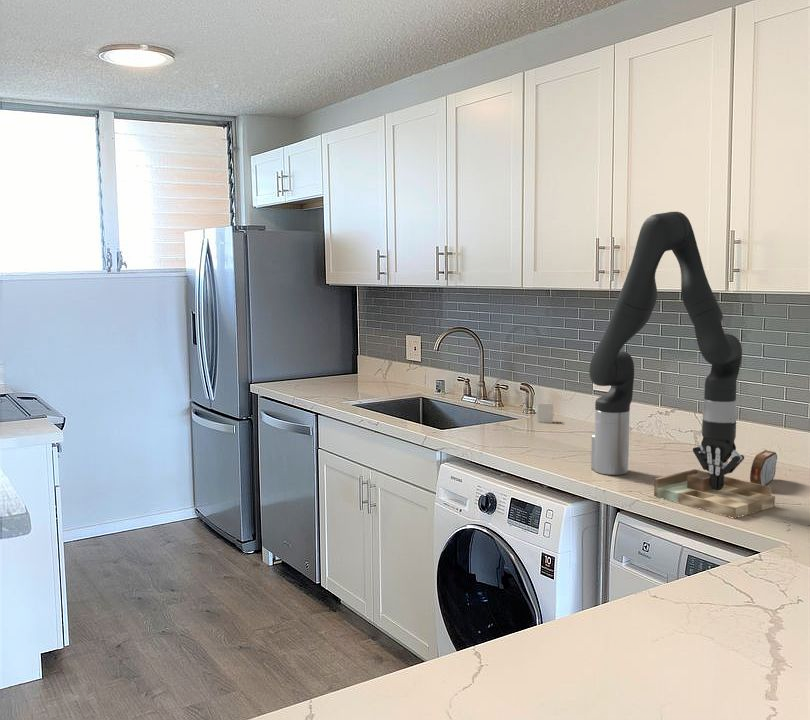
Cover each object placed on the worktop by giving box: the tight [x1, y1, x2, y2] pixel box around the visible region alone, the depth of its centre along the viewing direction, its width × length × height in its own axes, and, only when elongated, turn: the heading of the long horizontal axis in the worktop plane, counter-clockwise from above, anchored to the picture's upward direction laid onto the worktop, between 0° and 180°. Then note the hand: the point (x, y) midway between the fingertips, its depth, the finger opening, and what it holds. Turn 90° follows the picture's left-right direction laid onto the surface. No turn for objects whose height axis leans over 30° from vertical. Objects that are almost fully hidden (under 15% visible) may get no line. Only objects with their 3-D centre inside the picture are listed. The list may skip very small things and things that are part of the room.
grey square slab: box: [536, 402, 558, 424], centre depth 297 cm, size 3×7×8 cm, turn 73°
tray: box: [653, 468, 776, 519], centre depth 196 cm, size 22×16×4 cm
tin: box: [749, 449, 778, 486], centre depth 212 cm, size 15×3×8 cm, turn 141°
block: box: [687, 473, 712, 492], centre depth 199 cm, size 4×4×3 cm
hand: (716, 489), depth 196 cm, fingers closed
